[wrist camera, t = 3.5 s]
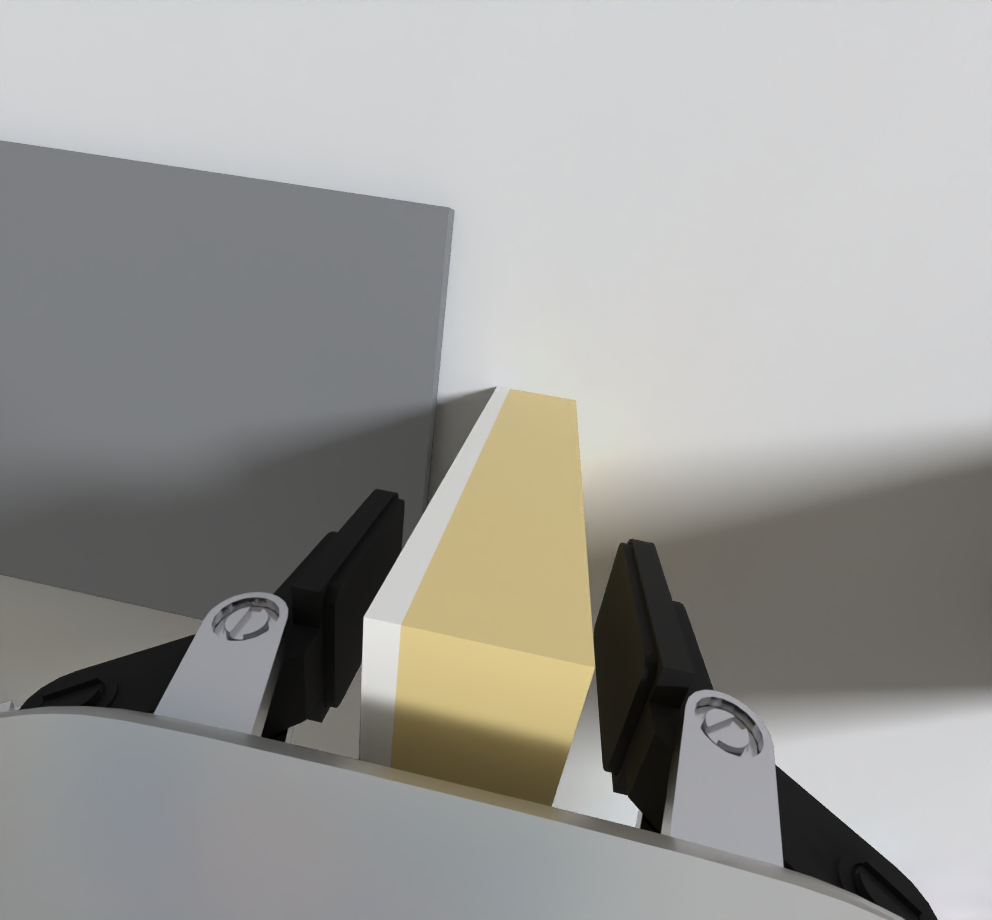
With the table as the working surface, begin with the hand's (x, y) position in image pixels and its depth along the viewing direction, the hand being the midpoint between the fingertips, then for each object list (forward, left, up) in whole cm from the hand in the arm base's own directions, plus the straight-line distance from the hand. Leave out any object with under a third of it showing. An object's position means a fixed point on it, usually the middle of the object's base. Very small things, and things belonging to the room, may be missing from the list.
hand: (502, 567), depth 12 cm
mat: (+13, 0, -4) cm, 14 cm away
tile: (0, 0, -4) cm, 4 cm away
